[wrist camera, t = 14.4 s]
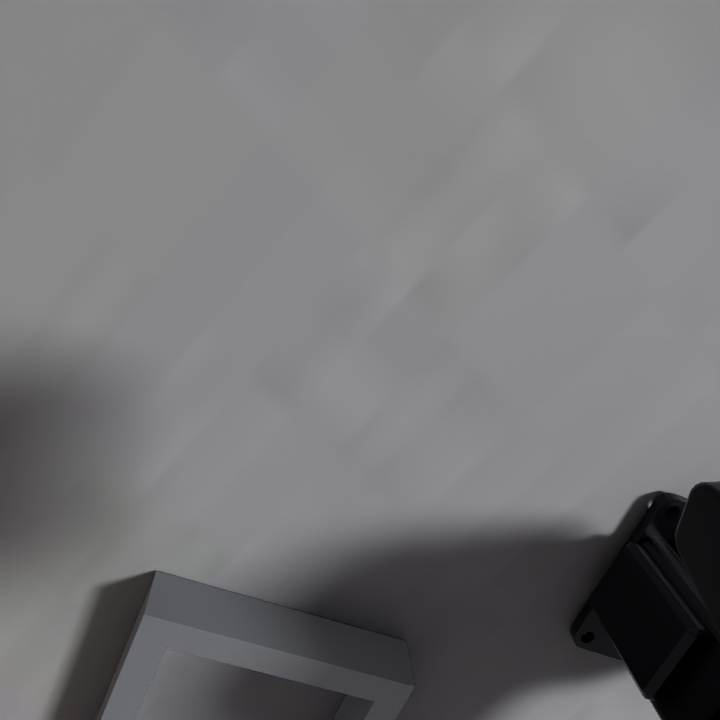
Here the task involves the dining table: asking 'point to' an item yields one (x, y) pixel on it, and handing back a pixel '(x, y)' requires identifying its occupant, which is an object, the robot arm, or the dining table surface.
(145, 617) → the hole frame
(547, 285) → the dining table surface
